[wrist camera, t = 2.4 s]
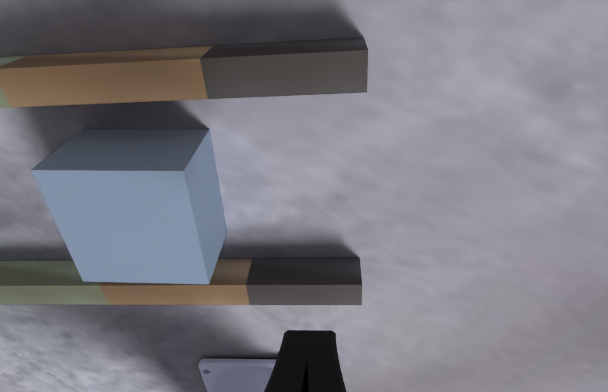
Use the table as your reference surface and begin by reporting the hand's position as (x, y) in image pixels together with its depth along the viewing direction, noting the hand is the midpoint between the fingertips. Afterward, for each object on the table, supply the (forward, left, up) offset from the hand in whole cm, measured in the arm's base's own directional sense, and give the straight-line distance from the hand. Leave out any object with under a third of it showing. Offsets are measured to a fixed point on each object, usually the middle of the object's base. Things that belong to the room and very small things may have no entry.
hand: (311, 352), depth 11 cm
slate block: (0, +8, -10) cm, 12 cm away
